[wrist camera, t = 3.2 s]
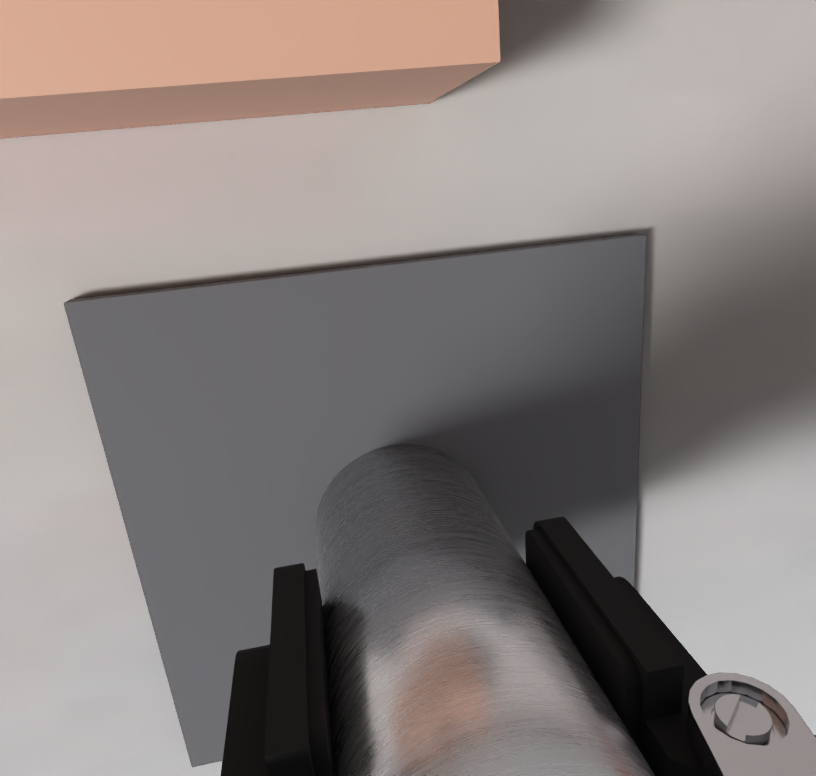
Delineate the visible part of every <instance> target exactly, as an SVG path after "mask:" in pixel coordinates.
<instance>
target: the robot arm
mask: <svg viewBox="0 0 816 776" xmlns="http://www.w3.org/2000/svg"><path fill="white" fill-rule="evenodd" d="M525 550H526V565H527V567H528V568H529V570H530V572H531V573H532V575H533V577H534V578H535V580H536V581H537V583H538V585H539V586H540V588H541V590H542V591H543V593H544V595H545V596H546V598H547V599H548V601H549V603H550V604H551V606H552V608H553V609H554V611H555V613H556V614H557V616H558V617H559V619H560V621H561V622H562V624H563V626H564V627H565V629H566V631H567V632H568V634H569V635H570V637H571V639H572V640H573V642H574V644H575V645H576V647H577V649H578V650H579V652H580V653H581V655H582V657H583V658H584V660H585V662H586V663H587V665H588V667H589V668H590V670H591V671H592V673H593V675H594V676H595V678H596V680H597V681H598V683H599V685H600V686H601V688H602V690H603V691H604V693H605V694H606V696H607V698H608V699H609V701H610V703H611V704H612V706H613V708H614V709H615V711H616V712H617V714H618V716H619V717H620V719H621V721H622V722H623V724H624V726H625V727H626V729H627V730H628V732H629V734H630V735H631V737H632V739H633V740H634V742H635V744H636V745H637V747H638V748H639V750H640V752H641V753H642V755H643V757H644V758H645V760H646V762H647V763H648V765H649V766H650V768H651V770H652V771H653V773H654V775H655V776H816V735H814V734H813V733H812V731H811V730H810V729H809V727H808V726H807V724H806V723H805V722H804V720H803V719H802V717H801V716H800V714H799V713H798V712H797V710H796V709H795V708H794V706H793V705H792V704H791V703H790V702H789V701H788V700H787V699H786V698H785V697H784V696H783V695H782V694H781V693H779V692H778V691H776V690H775V689H774V688H772V687H771V686H769V685H767V684H765V683H763V682H761V681H759V680H757V679H754V678H752V677H748V676H744V675H740V674H736V673H715V674H710V675H707V674H706V673H705V672H704V671H703V669H702V668H701V667H700V666H699V665H698V663H697V662H696V661H695V660H694V659H693V657H692V656H691V655H690V654H689V653H688V651H687V650H686V649H685V648H684V647H683V646H682V644H681V643H680V642H679V641H678V640H677V638H676V637H675V636H674V635H673V634H672V632H671V631H670V630H669V629H668V628H667V626H666V625H665V624H664V623H663V622H662V621H661V619H660V618H659V617H658V616H657V615H656V613H655V612H654V611H653V610H652V609H651V607H650V606H649V605H648V604H647V603H646V601H645V600H644V599H643V598H642V597H641V596H640V594H639V593H638V592H637V591H636V590H635V588H634V587H633V586H632V585H631V584H630V583H629V582H628V581H627V580H626V579H625V578H623V577H620V576H619V577H613V576H612V575H611V573H610V572H609V571H608V570H607V568H606V567H605V566H604V565H603V564H602V562H601V561H600V560H599V559H598V557H597V556H596V555H595V554H594V552H593V551H592V550H591V549H590V547H589V546H588V545H587V544H586V543H585V541H584V540H583V539H582V538H581V536H580V535H579V534H578V533H577V531H576V530H575V529H574V528H573V527H572V525H571V524H570V523H569V522H568V520H567V519H566V518H565V517H557V518H551V519H546V520H540V521H536V522H535V523H534V525H533V530H527V531H526V533H525ZM221 776H335V775H334V760H333V746H332V732H331V717H330V703H329V689H328V675H327V660H326V646H325V632H324V617H323V605H322V599H321V592H320V586H319V580H318V574H317V570H316V569H312V570H306V569H305V565H304V563H300V564H294V565H289V566H283V567H277V568H274V573H273V593H272V613H271V633H270V645H265V646H260V647H255V648H250V649H245V650H240V651H238V652H237V653H236V657H235V663H234V672H233V680H232V688H231V696H230V704H229V713H228V721H227V729H226V737H225V746H224V754H223V762H222V770H221Z"/></svg>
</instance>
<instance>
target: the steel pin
mask: <svg viewBox="0 0 816 776" xmlns="http://www.w3.org/2000/svg"><path fill="white" fill-rule="evenodd" d="M316 542H317V557H318V573H319V586H320V592H321V599H322V605H323V617H324V632H325V646H326V660H327V675H328V689H329V703H330V717H331V732H332V746H333V760H334V775H335V776H655V775H654V773H653V771H652V770H651V768H650V766H649V765H648V763H647V762H646V760H645V758H644V757H643V755H642V753H641V752H640V750H639V748H638V747H637V745H636V744H635V742H634V740H633V739H632V737H631V735H630V734H629V732H628V730H627V729H626V727H625V726H624V724H623V722H622V721H621V719H620V717H619V716H618V714H617V712H616V711H615V709H614V708H613V706H612V704H611V703H610V701H609V699H608V698H607V696H606V694H605V693H604V691H603V690H602V688H601V686H600V685H599V683H598V681H597V680H596V678H595V676H594V675H593V673H592V671H591V670H590V668H589V667H588V665H587V663H586V662H585V660H584V658H583V657H582V655H581V653H580V652H579V650H578V649H577V647H576V645H575V644H574V642H573V640H572V639H571V637H570V635H569V634H568V632H567V631H566V629H565V627H564V626H563V624H562V622H561V621H560V619H559V617H558V616H557V614H556V613H555V611H554V609H553V608H552V606H551V604H550V603H549V601H548V599H547V598H546V596H545V595H544V593H543V591H542V590H541V588H540V586H539V585H538V583H537V581H536V580H535V578H534V577H533V575H532V573H531V572H530V570H529V568H528V567H527V565H526V563H525V562H524V560H523V559H522V557H521V555H520V554H519V552H518V550H517V549H516V547H515V545H514V544H513V542H512V541H511V539H510V537H509V536H508V534H507V532H506V531H505V529H504V527H503V526H502V524H501V522H500V521H499V519H498V518H497V516H496V514H495V513H494V511H493V509H492V508H491V506H490V504H489V503H488V501H487V500H486V498H485V496H484V495H483V493H482V491H481V490H480V488H479V486H478V485H477V483H476V482H475V480H474V478H473V477H472V475H471V474H470V472H469V471H468V470H467V469H466V468H465V467H464V466H463V465H462V464H461V463H460V462H459V461H457V460H456V459H455V458H453V457H452V456H450V455H448V454H447V453H445V452H442V451H440V450H438V449H435V448H431V447H428V446H423V445H416V444H400V445H391V446H387V447H382V448H379V449H376V450H373V451H370V452H368V453H366V454H364V455H362V456H360V457H358V458H357V459H355V460H354V461H352V462H351V463H349V464H348V465H347V466H346V467H345V468H343V469H342V470H341V471H340V472H339V473H338V474H337V475H336V476H335V478H334V479H333V480H332V481H331V483H330V484H329V486H328V487H327V489H326V491H325V492H324V494H323V496H322V498H321V501H320V504H319V507H318V511H317V516H316Z"/></svg>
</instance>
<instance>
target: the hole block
mask: <svg viewBox="0 0 816 776" xmlns="http://www.w3.org/2000/svg"><path fill="white" fill-rule="evenodd" d="M499 62H500V36H499V9H498V0H0V138H12V137H24V136H36V135H48V134H61V133H73V132H85V131H97V130H110V129H122V128H134V127H146V126H159V125H171V124H183V123H195V122H208V121H220V120H232V119H244V118H257V117H269V116H281V115H293V114H305V113H318V112H330V111H342V110H354V109H367V108H379V107H391V106H403V105H416V104H428V103H431V102H433V101H434V100H436V99H438V98H439V97H441V96H443V95H445V94H446V93H448V92H450V91H451V90H453V89H455V88H457V87H458V86H460V85H462V84H463V83H465V82H467V81H469V80H470V79H472V78H474V77H475V76H477V75H479V74H481V73H482V72H484V71H486V70H487V69H489V68H491V67H492V66H494V65H496V64H498V63H499Z"/></svg>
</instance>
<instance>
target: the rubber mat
mask: <svg viewBox="0 0 816 776" xmlns="http://www.w3.org/2000/svg"><path fill="white" fill-rule="evenodd" d="M645 255H646V235H642V234H630V235H622V236H613V237H605V238H596V239H587V240H579V241H570V242H562V243H553V244H544V245H536V246H527V247H518V248H510V249H501V250H493V251H484V252H475V253H467V254H458V255H449V256H441V257H432V258H424V259H415V260H406V261H398V262H389V263H380V264H372V265H363V266H355V267H346V268H337V269H329V270H320V271H312V272H303V273H294V274H286V275H277V276H268V277H260V278H251V279H243V280H234V281H225V282H217V283H208V284H199V285H191V286H182V287H174V288H165V289H156V290H148V291H139V292H131V293H122V294H113V295H105V296H96V297H87V298H79V299H71V300H69V301H67V302H65V303H64V306H65V310H66V314H67V317H68V321H69V324H70V328H71V332H72V335H73V339H74V343H75V346H76V350H77V353H78V357H79V361H80V364H81V368H82V371H83V375H84V379H85V382H86V386H87V390H88V393H89V397H90V400H91V404H92V408H93V411H94V415H95V418H96V422H97V426H98V429H99V433H100V437H101V440H102V444H103V447H104V451H105V455H106V458H107V462H108V465H109V469H110V473H111V476H112V480H113V484H114V487H115V491H116V494H117V498H118V502H119V505H120V509H121V512H122V516H123V520H124V523H125V527H126V530H127V534H128V538H129V541H130V545H131V549H132V552H133V556H134V559H135V563H136V567H137V570H138V574H139V577H140V581H141V585H142V588H143V592H144V596H145V599H146V603H147V606H148V610H149V614H150V617H151V621H152V624H153V628H154V632H155V635H156V639H157V643H158V646H159V650H160V653H161V657H162V661H163V664H164V668H165V671H166V675H167V679H168V682H169V686H170V690H171V693H172V697H173V700H174V704H175V708H176V711H177V715H178V718H179V722H180V726H181V729H182V733H183V737H184V740H185V744H186V747H187V751H188V755H189V758H190V762H191V765H192V767H196V766H200V765H205V764H209V763H214V762H219V761H223V754H224V746H225V737H226V729H227V721H228V713H229V704H230V696H231V688H232V680H233V672H234V663H235V657H236V653H237V652H238V651H240V650H245V649H250V648H255V647H260V646H265V645H270V633H271V613H272V593H273V573H274V568H277V567H283V566H289V565H294V564H300V563H304V565H305V569H306V570H312V569H316V570H317V574H318V580H319V573H318V557H317V542H316V516H317V511H318V507H319V504H320V501H321V498H322V496H323V494H324V492H325V491H326V489H327V487H328V486H329V484H330V483H331V481H332V480H333V479H334V478H335V476H336V475H337V474H338V473H339V472H340V471H341V470H342V469H343V468H345V467H346V466H347V465H348V464H349V463H351V462H352V461H354V460H355V459H357V458H358V457H360V456H362V455H364V454H366V453H368V452H370V451H373V450H376V449H379V448H382V447H387V446H391V445H400V444H416V445H423V446H428V447H431V448H435V449H438V450H440V451H442V452H445V453H447V454H448V455H450V456H452V457H453V458H455V459H456V460H457V461H459V462H460V463H461V464H462V465H463V466H464V467H465V468H466V469H467V470H468V471H469V472H470V474H471V475H472V477H473V478H474V480H475V482H476V483H477V485H478V486H479V488H480V490H481V491H482V493H483V495H484V496H485V498H486V500H487V501H488V503H489V504H490V506H491V508H492V509H493V511H494V513H495V514H496V516H497V518H498V519H499V521H500V522H501V524H502V526H503V527H504V529H505V531H506V532H507V534H508V536H509V537H510V539H511V541H512V542H513V544H514V545H515V547H516V549H517V550H518V552H519V554H520V555H521V557H522V559H523V560H524V562H525V563H526V550H525V533H526V531H527V530H533V525H534V523H535V522H536V521H540V520H546V519H551V518H557V517H565V518H566V519H567V520H568V522H569V523H570V524H571V525H572V527H573V528H574V529H575V530H576V531H577V533H578V534H579V535H580V536H581V538H582V539H583V540H584V541H585V543H586V544H587V545H588V546H589V547H590V549H591V550H592V551H593V552H594V554H595V555H596V556H597V557H598V559H599V560H600V561H601V562H602V564H603V565H604V566H605V567H606V568H607V570H608V571H609V572H610V573H611V575H612V576H613V577H619V576H620V577H623V578H625V579H626V580H627V581H628V582H629V583H630V584H631V585H632V586H633V587H634V576H635V547H636V517H637V488H638V459H639V430H640V401H641V372H642V343H643V314H644V285H645Z"/></svg>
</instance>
